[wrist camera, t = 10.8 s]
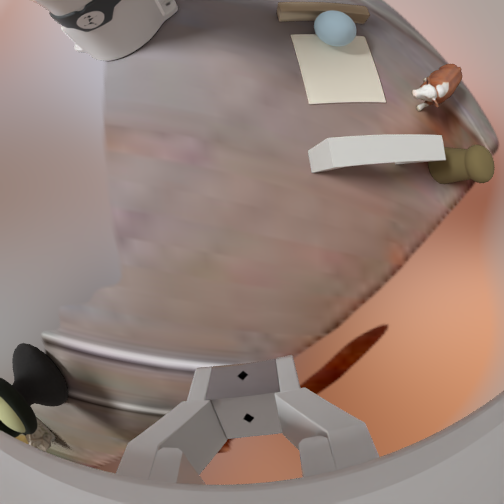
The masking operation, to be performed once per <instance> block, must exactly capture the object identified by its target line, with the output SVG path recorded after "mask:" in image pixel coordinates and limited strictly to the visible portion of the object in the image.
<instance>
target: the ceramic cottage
mask: <svg viewBox="0 0 504 504" xmlns="http://www.w3.org/2000/svg"><path fill="white" fill-rule="evenodd" d="M36 419H37V423H38V426H37V430H36V431H35V432H34V433H33V434H27V435H26V436H25V437H26V439H27V441H28V442H29V444H30V445H31V446H33V447H35V448H37V447H39V448H40V449H41V450H42V451H44V452H45V451H46V450H47V449H48V448H49V447H50V446H51V442H53V441H54V440H55V435H54V434H53V433H52V432H50V430H49V429H48V428H47V427H46V426H45V425H44V424H43V423H42V422H41V421H40V420H39V419H38V418H37V417H36Z"/></svg>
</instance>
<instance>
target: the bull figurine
mask: <svg viewBox="0 0 504 504" xmlns="http://www.w3.org/2000/svg"><path fill="white" fill-rule="evenodd" d="M461 79H462V72H461V68H460V67H457V66H456V65H455V64H446V65H444V66H442V67H440V68H439V70H436V71H434V72H433V73H431V75H430V76H429V77H427V78H424V79H423V81H424V83H423V84H422V85H421V86H420V88H419V89H416V90H413V91H412V95H413V96H414V98H416V99H422V100H426V101H425V102H424V103H423V104H420V105H417V106H416V108H417V110H418V111H421V110H422V109H423V108H424V107H425V106H429V105H431V104H434V105H435V106H436V107H439V105H438V104H440V103H442V102H444V101H445V100H446V99H448V98H449V97H450V96H451V95H452V94H453V93H454V91H455V89H456V87H457V86H458V85H459V83H460V82H461Z"/></svg>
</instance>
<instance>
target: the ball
mask: <svg viewBox="0 0 504 504" xmlns="http://www.w3.org/2000/svg"><path fill="white" fill-rule="evenodd" d="M314 29H315V32H316V35H317V36H318V37H319V39H320V40H322V41H323V42H324V43H326V44H328V45H331V46H345V45H347V44H349V43H351V42H352V41H353V40H354V38H355V36H356V26H355V23H354V22H353V20H352V19H351V18H350V17H349V16H348V15H346V14H345V13H343V12H340V11H335V10H330V11H325V12H323V13H321V14H320V15H319V16H318V17H317V18H316V20H315V23H314Z"/></svg>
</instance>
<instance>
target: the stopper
mask: <svg viewBox="0 0 504 504" xmlns="http://www.w3.org/2000/svg"><path fill="white" fill-rule="evenodd" d="M330 10H335V11H340V12H343V13H345V14H346V15H348V16H349V17H350V18H351V19H352V20H353V22H354V23H360V24H364V23H365V22H366V20H367V19H368V18H369V16H370V14H369V12H368V9H367V7H365V6H358V5H349V4H339V3H324V2H278V7H277V16H278V19H279V22H283V21H315V20H316V18H317V17H318V16H319V15H320V14H321V13H323V12H325V11H330Z"/></svg>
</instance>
